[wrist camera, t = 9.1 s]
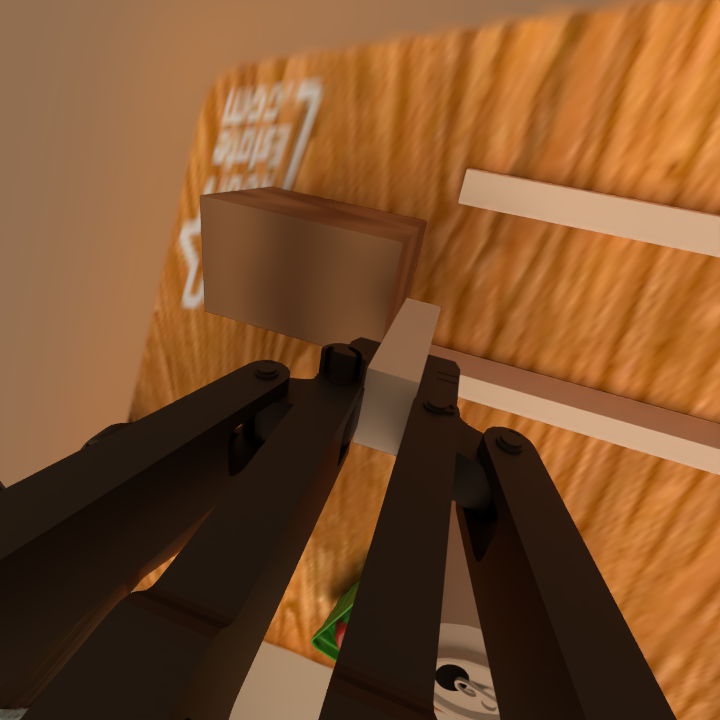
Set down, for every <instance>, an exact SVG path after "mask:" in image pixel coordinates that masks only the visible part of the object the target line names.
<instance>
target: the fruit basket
mask: <svg viewBox="0 0 720 720" xmlns="http://www.w3.org/2000/svg"><path fill="white" fill-rule="evenodd" d="M359 583H360V581H359V582H356V583H355V584H354V585H353V586H352V587H351V588H350V590H349V591H348V592H346V593H345V594H344V595H343V596H342V597H341V598H340V600H339V601H338V603H337V604H336V606H335V607H334V609H333V610H332V612H331V613H330V615H329V617H328V618H327V620H326V621H325V623H324V624H323V626H322V627H321V628H320V629H319V630H318V631H317V632H316V634H315V635H314V636H313V638H312V640H311V643H312V645H313V646H314V647H315V648H316V649H317V650H319V651H320V652H322V653H324V654H325V655H326V656H328V657H330V658H331V659H333V660H334V661H336V660H337V657H338V654H339V650H340V647H341V644H342V640H343V637H344V633H345V630H346V627H347V623H348V620H349V616H350V613H351V610H352V606H353V603H354V599H355V596H356V593H357V589H358V586H359Z"/></svg>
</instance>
